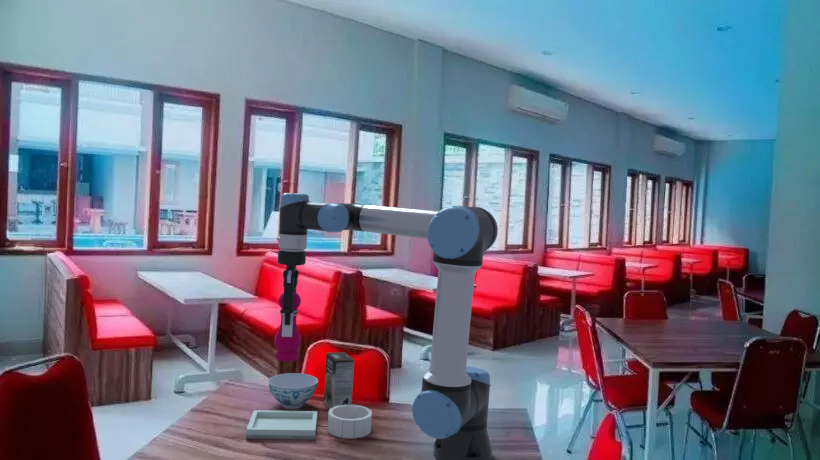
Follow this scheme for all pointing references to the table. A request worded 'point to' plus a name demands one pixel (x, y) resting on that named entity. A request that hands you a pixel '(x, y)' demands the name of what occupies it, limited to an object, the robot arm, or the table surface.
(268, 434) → the tray
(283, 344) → the pepper mill
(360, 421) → the cup
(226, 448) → the table surface
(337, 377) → the coffee box
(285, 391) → the chinaware
